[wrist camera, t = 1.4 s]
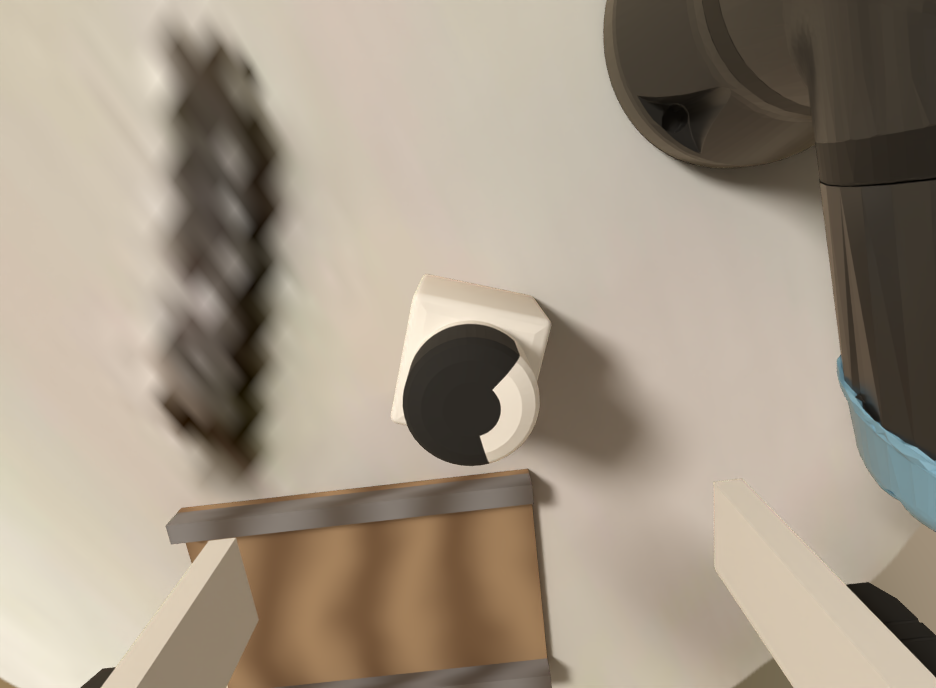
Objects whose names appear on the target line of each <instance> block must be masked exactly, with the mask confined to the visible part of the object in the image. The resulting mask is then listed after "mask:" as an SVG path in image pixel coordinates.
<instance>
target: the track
mask: <svg viewBox="0 0 936 688" xmlns="http://www.w3.org/2000/svg"><path fill="white" fill-rule="evenodd" d="M532 504H534V502H533V491H532V483H531V479H530V475H529V471H528V469H522V470H513V471H505V472H496V473H487V474H478V475H469V476H460V477H452V478H443V479H434V480H425V481H416V482H408V483H399V484H390V485H381V486H372V487H363V488H355V489H346V490H337V491H328V492H319V493H310V494H302V495H293V496H284V497H275V498H266V499H257V500H249V501H240V502H231V503H222V504H213V505H204V506H196V507H187V508H181V509H180V510H179V511H178V512H177V514H176V515H175V516H174V517H173V518H172V519H171V520H170V521H169V523H168V524H167V525H166V529H167V532H168V536H169V539H170V542H171V544H179V543H186V545H187V549H188V552H189V556H190V559H191V562H192V563H193V562H194V560H195V559H196V558H197V556H198V555H199V554H200V552H201V551H202V549H203V548H204V547H205V545H206V544H207V543H208V541H211V540H220V539H228V538H236V539H237V543H238V547H239V550H240V554H241V557H242V561H243V565H244V568H245V572H246V575H247V579H248V583H249V586H250V590H251V593H252V597H253V601H254V604H255V608H256V611H257V615H258V619H259V620H258V622H257V625H256V627H255V629H254V631H253V633H252V635H251V637H250V639H249V641H248V643H247V645H246V647H245V649H244V652H243V654H242V656H241V658H240V660H239V662H238V664H237V666H236V668H235V670H234V672H233V674H232V676H231V679H230V681H229V683H228V688H552V687H551V677H550V671H549V665H548V660H547V652H546V641H545V631H544V621H543V611H542V601H541V590H540V580H539V570H538V560H537V550H536V539H535V529H534V519H533V509H532Z"/></svg>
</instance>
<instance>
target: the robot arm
mask: <svg viewBox="0 0 936 688" xmlns="http://www.w3.org/2000/svg"><path fill="white" fill-rule="evenodd" d="M603 34H604V53H605V59H606V65H607V70H608V74H609V78H610V81H611V84H612V87H613V90H614V92H615V95H616V97H617V99H618V101H619V103H620V105H621V107H622V109H623V110H624V112H625V114H626V115H627V117H628V118H629V120H630V121H631V122H632V123H633V125H634V126H635V127H636V128H637V130H638V131H639V132H640V133H641V134H642V135H643V136H644V137H645V138H646V139H647V140H649V141H650V142H651V143H652V144H654V145H655V146H656V147H657V148H659V149H661V150H662V151H664V152H665V153H667V154H669V155H671V156H673V157H675V158H677V159H679V160H682V161H684V162H687V163H690V164H694V165H698V166H703V167H710V168H738V167H747V166H756V165H762V164H767V163H772V162H775V161H779V160H782V159H785V158H787V157H790V156H792V155H795V154H797V153H800V152H802V151H804V150H806V149H808V148H810V147H812V146H814V145H816V153H817V160H818V168H819V176H820V179H819V180H820V189H821V198H822V206H823V214H824V222H825V230H826V238H827V246H828V254H829V262H830V270H831V278H832V286H833V294H834V302H835V310H836V318H837V326H838V334H839V342H840V350H841V355H840V357H839V358H838V359H837V375H838V379H839V383H840V387H841V389H842V391H843V393H844V395H845V397H846V399H847V401H848V404H849V409H850V414H851V419H852V424H853V429H854V433H855V438H856V443H857V447H858V450H859V453H860V456H861V458H862V460H863V462H864V464H865V466H866V468H867V469H868V471H869V472H870V474H871V475H872V477H873V478H874V479H875V481H876V482H877V483H878V484H879V486H880V487H881V488H882V489H883V490H884V491H886V492H887V493H888V494H889V495H891V496H892V497H894V498H896V499H897V500H899V501H900V502H901V503H902V504H903V505H904V507H905V508H906V510H907V511H909V513H910V514H911V515H912V516H913V517H914V518H916V519H917V520H918V521H920V522H921V523H922V524H924V525H925V526H927V527H929V528H930V529H932V530H933V531H935V532H936V0H607V2H606V7H605V15H604V29H603ZM713 488H714V569H715V570H716V572H717V573H718V575H719V576H720V578H721V579H722V581H723V582H724V584H725V585H726V587H727V588H728V590H729V591H730V593H731V594H732V596H733V597H734V599H735V600H736V602H737V603H738V605H739V606H740V608H741V609H742V611H743V612H744V614H745V615H746V617H747V618H748V620H749V621H750V623H751V624H752V626H753V627H754V629H755V630H756V632H757V633H758V635H759V636H760V638H761V640H762V641H763V643H764V644H765V646H766V647H767V649H768V650H769V652H770V653H771V655H772V656H773V658H774V659H775V661H776V662H777V664H778V665H779V667H780V668H781V670H782V671H783V673H784V674H785V675H786V677H787V679H788V680H789V682H790V683H791V685H792V686H793V688H936V635H935V634H934V633H933V632H932V631H930V629H928V628H927V627H926V626H925V625H924V624H923V623H920V622H919V621H918V618H917V617H916V616H914V614H912V613H911V612H910V611H909V610H908V609H907V608H906V607H905V606H904V605H903V604H902V603H901V602H900V601H899V600H898V599H897V598H895V597H893V596H891V595H889V594H888V593H886V592H884V591H883V590H881V589H879V588H877V587H876V586H874V585H872V584H870V583H869V582H866V583H857V584H848V585H845V584H844V583H843V582H842V581H841V580H840V579H839V578H838V577H837V576H836V575H835V574H834V573H833V572H832V570H831V569H830V568H829V567H828V566H827V565H826V564H825V563H824V562H823V561H822V560H821V559H820V558H819V557H818V556H817V555H816V554H815V553H814V552H813V551H812V550H811V549H810V548H809V547H808V546H807V545H806V544H805V543H804V542H803V541H802V540H801V539H800V538H799V537H798V536H797V534H796V533H795V532H794V531H793V530H792V529H791V528H790V527H789V526H788V525H787V524H786V523H785V522H784V521H783V520H782V519H781V518H780V517H779V516H778V515H777V514H776V513H775V512H774V511H773V510H772V509H771V508H770V507H769V506H768V505H767V504H766V503H765V502H764V501H763V500H762V498H761V497H760V496H759V495H758V494H757V493H756V492H755V491H754V490H753V489H752V488H751V487H750V486H749V485H748V484H747V483H746V482H745V481H744V480H743V479H733V480H725V481H716V482H713ZM258 620H259V619H258V615H257V611H256V608H255V604H254V601H253V597H252V593H251V590H250V586H249V583H248V579H247V575H246V572H245V568H244V565H243V561H242V557H241V554H240V550H239V547H238V543H237V539H236V538H228V539H220V540H211V541H208V543H207V544H206V545H205V547H204V548H203V549H202V551H201V552H200V554H199V555H198V556H197V558H196V559H195V560H194V562H193V563H192V564H191V566H190V567H189V568H188V570H187V571H186V573H185V574H184V575H183V577H182V578H181V579H180V581H179V582H178V583H177V585H176V586H175V588H174V589H173V590H172V592H171V593H170V594H169V596H168V597H167V598H166V600H165V601H164V602H163V604H162V605H161V607H160V608H159V609H158V611H157V612H156V613H155V615H154V616H153V617H152V619H151V620H150V622H149V623H148V624H147V626H146V627H145V628H144V630H143V631H142V632H141V634H140V635H139V637H138V638H137V639H136V641H135V642H134V643H133V645H132V646H131V647H130V649H129V650H128V651H127V653H126V654H125V656H124V657H123V658H122V660H121V661H120V662H119V664H118V665H117V666H116V667H114V668H105V669H102V670H101V671H99V672H98V673H97V674H96V675H95V676H94V677H92V678H91V679H90V680H89V681H88V682H87V683H85V684H84V685H83V686H82V687H81V688H226V687H227V685H228V683H229V681H230V679H231V676H232V674H233V672H234V670H235V668H236V666H237V664H238V662H239V660H240V658H241V656H242V654H243V652H244V649H245V647H246V645H247V643H248V641H249V639H250V637H251V635H252V633H253V631H254V629H255V627H256V625H257V622H258Z"/></svg>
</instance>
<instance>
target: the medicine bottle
mask: <svg viewBox="0 0 936 688" xmlns="http://www.w3.org/2000/svg"><path fill="white" fill-rule="evenodd" d="M550 330H551V321H550V320H549V318H548V317H547V316H546V314H545V313H544V311H543V310H542V309H541V307H540V306H539V304H538V303H537V302H536V300H535V299H534V298H533V297H532V296H530V295H525V294H521V293H516V292H511V291H506V290H501V289H497V288H492V287H487V286H482V285H477V284H473V283H468V282H463V281H458V280H453V279H448V278H444V277H439V276H434V275H429V274H426V275H424V276H423V277H422V279H421V281H420V283H419V286H418V288H417V290H416V292H415V294H414V297H413V300H412V305H411V310H410V316H409V321H408V326H407V332H406V337H405V342H404V348H403V353H402V358H401V364H400V369H399V374H398V380H397V385H396V390H395V396H394V401H393V406H392V412H391V419H392V421H393V422H395V423H397V424H402V425H407V426H408V428H409V430H410V432H411V434H412V435H413V437H414V438H415V440H416V441H417V442H418V443H419V444H420V445H421V446H422V447H423V448H424V449H425V450H426V451H428V452H429V453H431V454H432V455H434V456H435V457H437V458H439V459H441V460H443V461H446V462H449V463H452V464H457V465H465V466H476V465H484V464H489V463H492V462H495V461H498V460H500V459H502V458H504V457H506V456H508V455H509V454H511V453H513V452H514V451H515V450H516V449H518V448H519V447H520V446H521V445H522V444H523V443H524V442H525V440H526V439H527V438H528V436H529V435H530V433H531V432H532V430H533V428H534V426H535V424H536V421H537V417H538V414H539V407H540V395H539V388H538V385H537V381H538V377H539V373H540V369H541V365H542V361H543V357H544V353H545V349H546V346H547V342H548V338H549V334H550Z"/></svg>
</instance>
